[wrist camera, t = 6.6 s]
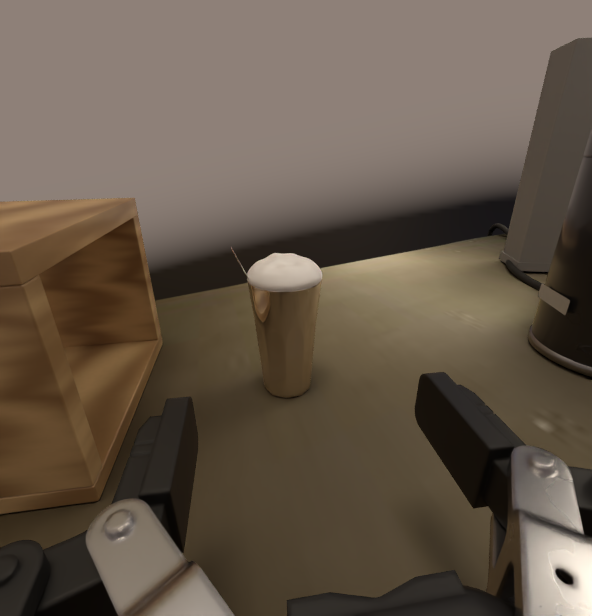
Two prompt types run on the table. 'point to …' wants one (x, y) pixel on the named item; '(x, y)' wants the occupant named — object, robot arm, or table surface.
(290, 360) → the milkshake
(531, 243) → the cassette tape recorder
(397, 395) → the table surface
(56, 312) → the block
